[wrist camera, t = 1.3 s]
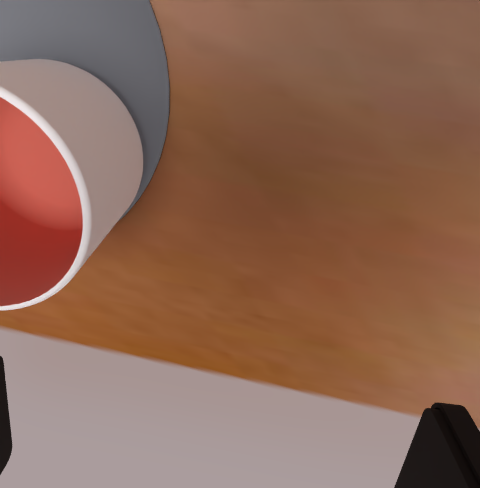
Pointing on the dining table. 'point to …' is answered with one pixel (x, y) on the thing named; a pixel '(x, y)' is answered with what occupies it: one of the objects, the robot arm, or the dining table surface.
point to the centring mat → (100, 55)
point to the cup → (59, 174)
